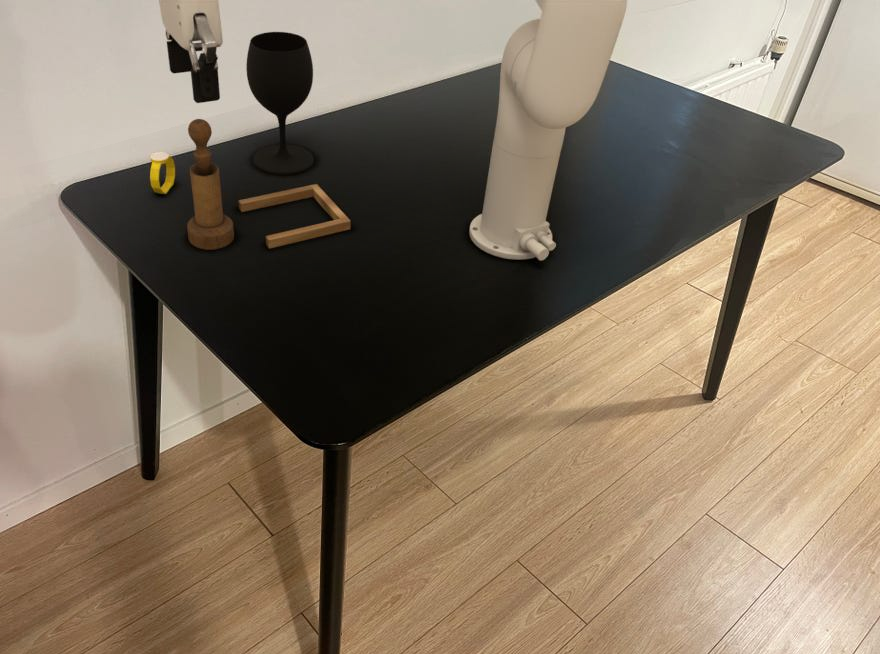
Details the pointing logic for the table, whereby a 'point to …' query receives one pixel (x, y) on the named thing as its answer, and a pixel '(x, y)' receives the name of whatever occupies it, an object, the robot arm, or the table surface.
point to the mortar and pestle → (206, 195)
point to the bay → (304, 233)
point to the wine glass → (280, 93)
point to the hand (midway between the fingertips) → (194, 85)
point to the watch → (156, 161)
